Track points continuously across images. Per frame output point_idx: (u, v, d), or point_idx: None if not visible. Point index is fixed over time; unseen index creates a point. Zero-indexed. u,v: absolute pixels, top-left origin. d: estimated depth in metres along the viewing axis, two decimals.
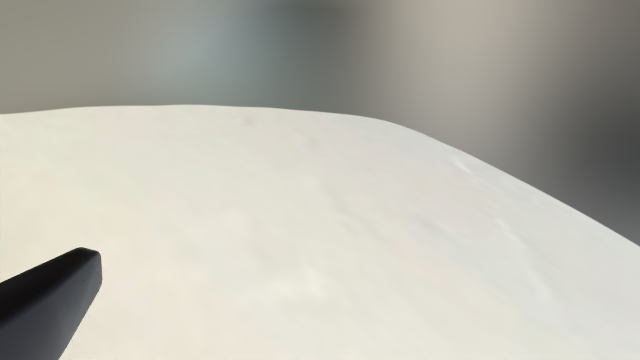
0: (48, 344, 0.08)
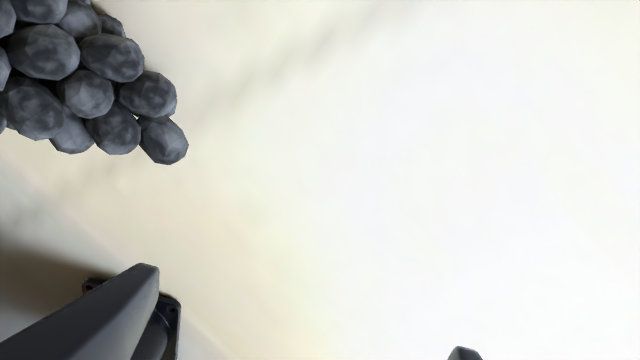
0: None
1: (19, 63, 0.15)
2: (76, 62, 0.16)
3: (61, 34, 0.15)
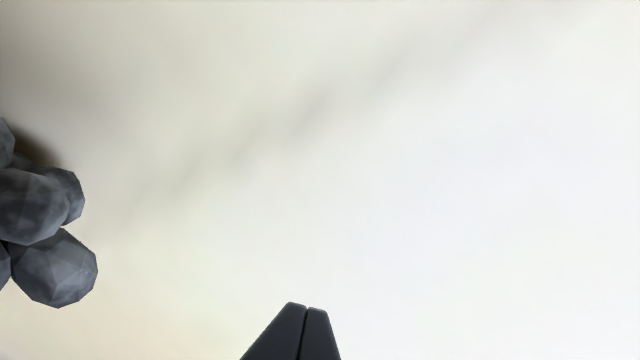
0: None
1: None
2: None
3: None
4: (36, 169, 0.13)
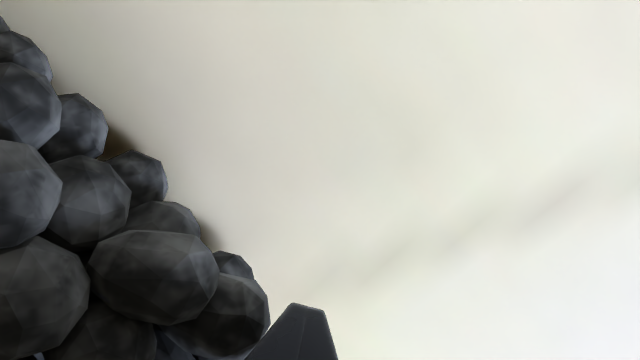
0: None
1: None
2: (82, 311, 0.07)
3: (48, 268, 0.07)
4: None
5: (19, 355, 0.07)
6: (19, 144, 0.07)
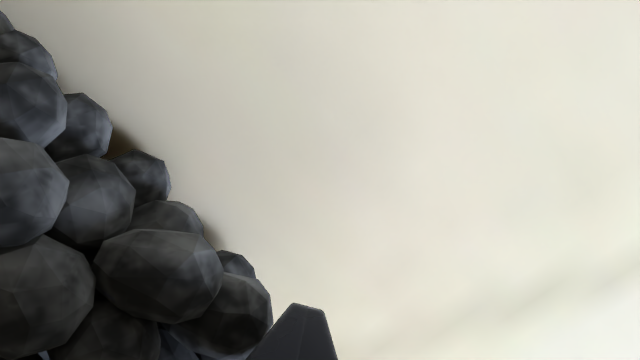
0: None
1: None
2: (88, 309, 0.07)
3: (55, 267, 0.07)
4: None
5: (26, 353, 0.07)
6: (27, 143, 0.07)
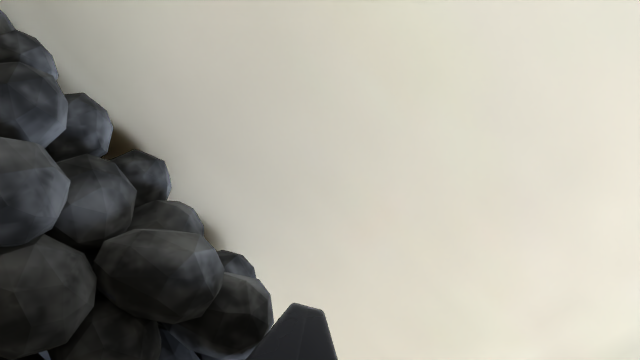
0: None
1: None
2: (89, 309, 0.07)
3: (56, 266, 0.07)
4: None
5: (27, 352, 0.07)
6: (28, 143, 0.07)
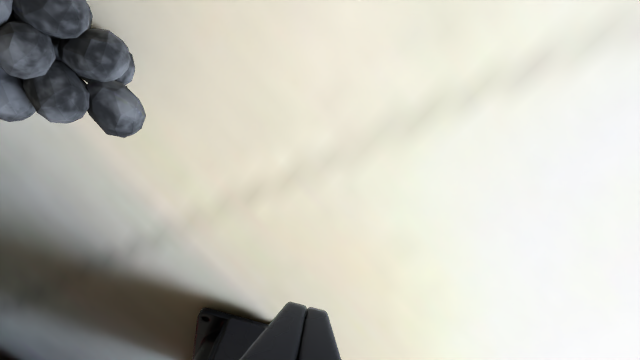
0: None
1: None
2: (6, 11, 0.14)
3: None
4: None
5: None
6: None
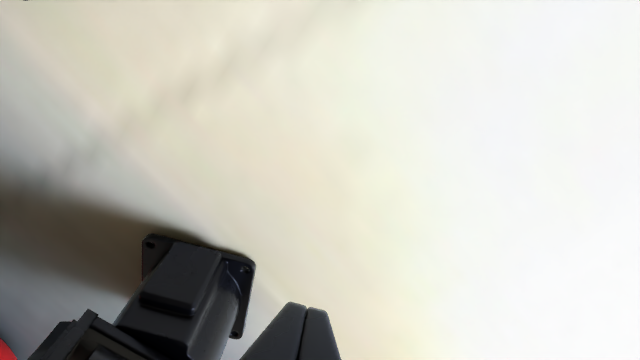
0: None
1: None
2: None
3: None
4: None
5: None
6: None
